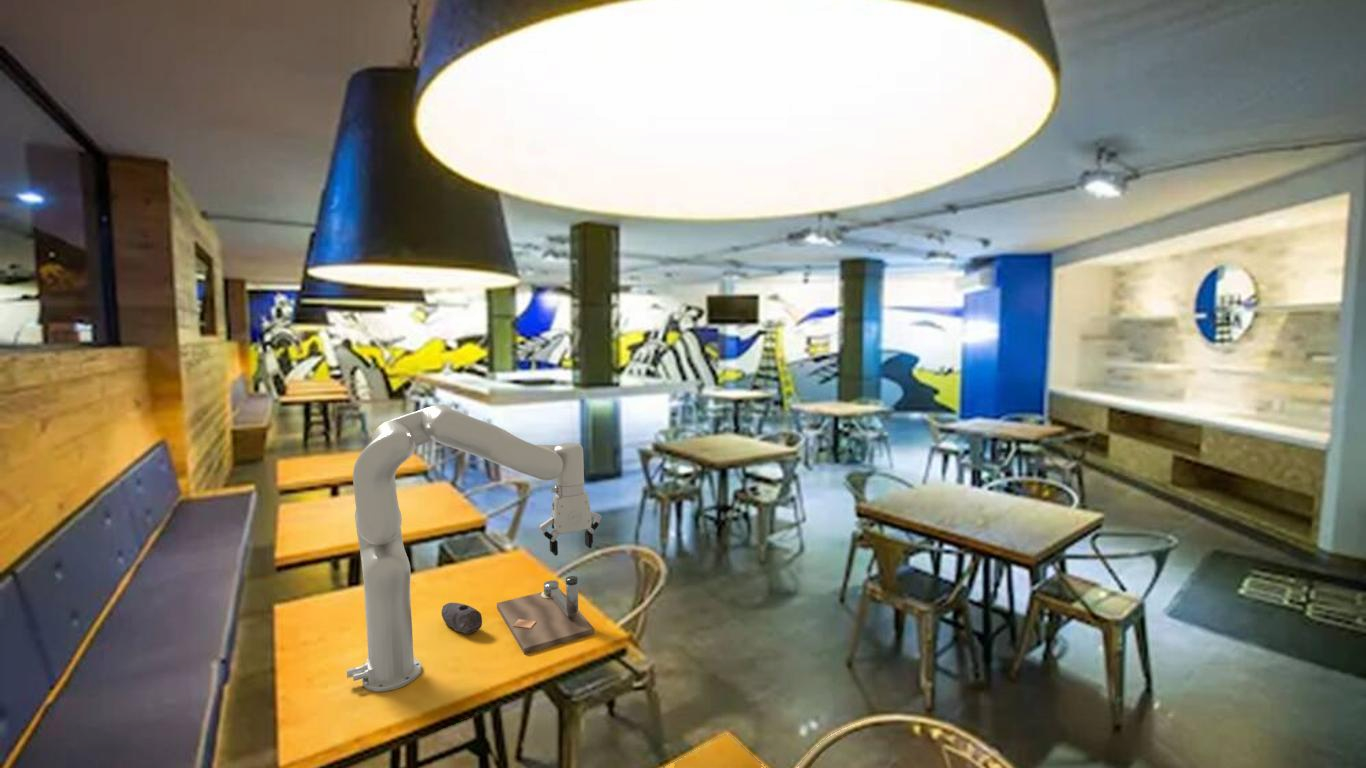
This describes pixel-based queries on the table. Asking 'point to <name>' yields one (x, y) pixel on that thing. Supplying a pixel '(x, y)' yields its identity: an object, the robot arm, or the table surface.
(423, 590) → the table surface
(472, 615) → the perforated stone tool
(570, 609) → the press lever
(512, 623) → the board
